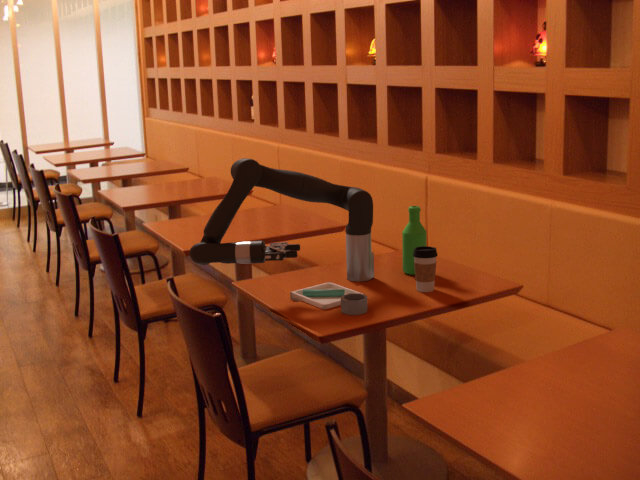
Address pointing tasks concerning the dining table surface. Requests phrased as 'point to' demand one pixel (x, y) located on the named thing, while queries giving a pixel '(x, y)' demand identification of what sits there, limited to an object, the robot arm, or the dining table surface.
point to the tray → (321, 301)
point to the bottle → (412, 239)
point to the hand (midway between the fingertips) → (298, 250)
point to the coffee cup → (425, 267)
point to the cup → (354, 304)
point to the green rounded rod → (324, 293)
